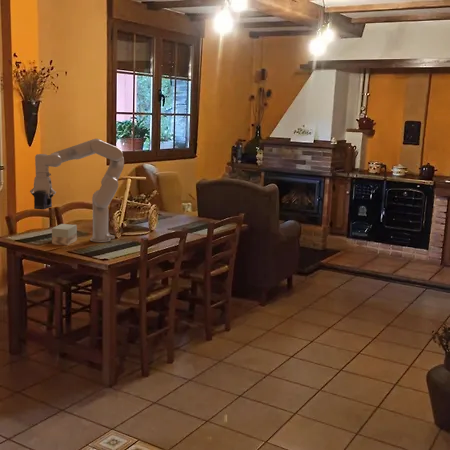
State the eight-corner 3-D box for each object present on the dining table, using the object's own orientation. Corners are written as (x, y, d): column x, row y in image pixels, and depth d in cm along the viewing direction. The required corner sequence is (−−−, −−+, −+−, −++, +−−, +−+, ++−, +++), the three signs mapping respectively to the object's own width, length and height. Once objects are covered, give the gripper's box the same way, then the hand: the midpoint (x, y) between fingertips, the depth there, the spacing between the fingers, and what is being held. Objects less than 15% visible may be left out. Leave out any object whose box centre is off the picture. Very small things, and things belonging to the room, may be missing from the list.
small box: (43, 209, 351) (43, 192, 349) (33, 209, 352) (33, 191, 350) (52, 206, 361) (52, 189, 359) (42, 206, 362) (42, 189, 360)
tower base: (76, 240, 369) (76, 232, 368) (67, 245, 356) (67, 237, 355) (61, 239, 370) (61, 231, 369) (52, 244, 357) (51, 236, 356)
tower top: (76, 232, 368) (76, 225, 367) (67, 237, 355) (67, 229, 354) (61, 231, 369) (61, 223, 368) (51, 236, 356) (51, 228, 355)
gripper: (58, 174, 355) (59, 204, 359) (31, 173, 357) (32, 202, 361) (53, 176, 348) (54, 206, 351) (25, 175, 350) (26, 204, 353)
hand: (43, 204), depth 356 cm, fingers closed on small box, 6 cm apart
